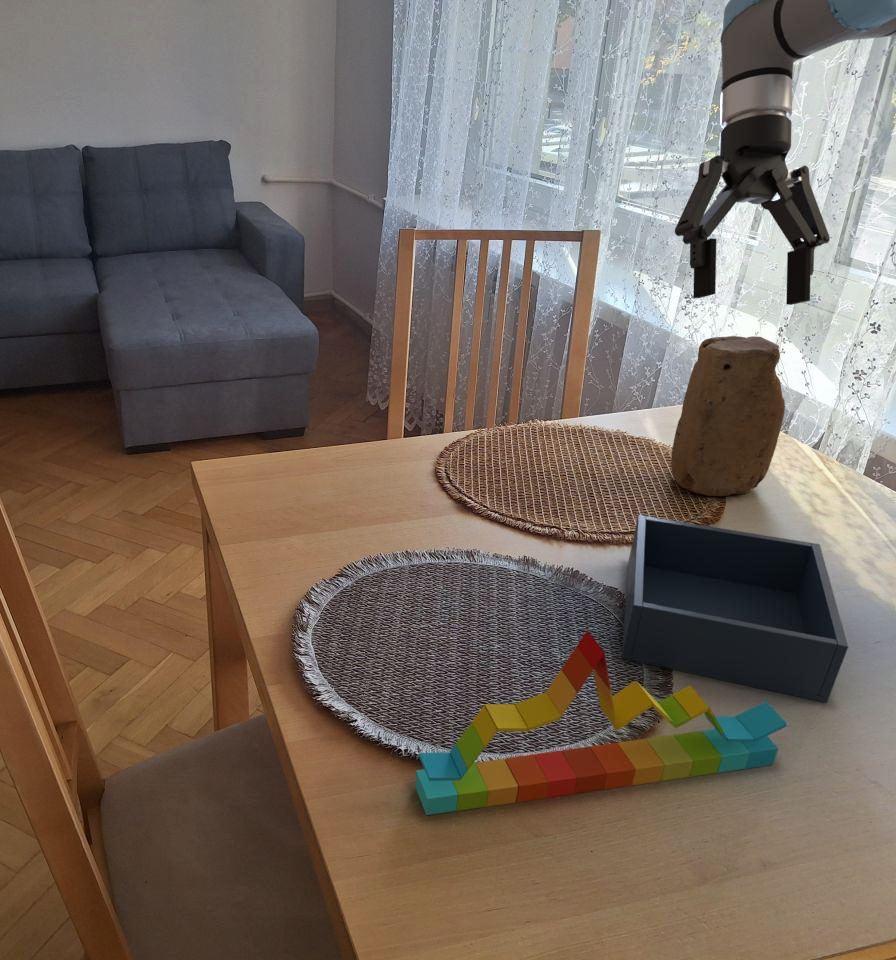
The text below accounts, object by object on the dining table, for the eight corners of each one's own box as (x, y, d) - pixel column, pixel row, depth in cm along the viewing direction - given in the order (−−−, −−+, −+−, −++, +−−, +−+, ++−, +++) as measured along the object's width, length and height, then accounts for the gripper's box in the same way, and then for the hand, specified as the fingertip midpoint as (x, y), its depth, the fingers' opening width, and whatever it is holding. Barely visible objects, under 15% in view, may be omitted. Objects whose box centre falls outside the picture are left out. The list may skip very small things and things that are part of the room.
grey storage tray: (802, 595, 93) (819, 543, 90) (827, 703, 79) (848, 647, 75) (627, 563, 99) (638, 514, 96) (621, 658, 85) (633, 604, 82)
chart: (748, 736, 75) (794, 599, 68) (772, 764, 73) (823, 624, 65) (414, 784, 72) (425, 645, 65) (426, 815, 69) (439, 673, 62)
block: (678, 496, 112) (712, 351, 102) (663, 469, 118) (693, 330, 109) (767, 500, 110) (810, 353, 100) (747, 473, 117) (786, 332, 107)
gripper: (813, 145, 111) (809, 310, 111) (645, 125, 105) (642, 299, 105) (866, 123, 103) (863, 299, 103) (689, 99, 97) (686, 286, 98)
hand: (751, 299), depth 104 cm, fingers open, 13 cm apart
